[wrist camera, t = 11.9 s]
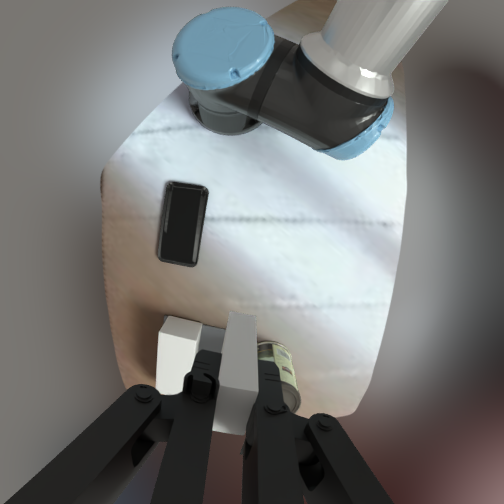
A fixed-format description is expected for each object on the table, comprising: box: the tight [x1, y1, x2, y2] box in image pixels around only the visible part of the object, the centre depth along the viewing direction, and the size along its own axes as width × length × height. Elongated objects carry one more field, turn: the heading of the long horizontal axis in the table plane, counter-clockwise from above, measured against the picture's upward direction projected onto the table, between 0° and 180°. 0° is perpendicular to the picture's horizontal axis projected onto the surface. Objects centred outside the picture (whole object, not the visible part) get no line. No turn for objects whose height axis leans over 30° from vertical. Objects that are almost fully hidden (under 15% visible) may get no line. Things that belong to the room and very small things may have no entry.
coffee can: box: [257, 342, 301, 414], centre depth 51 cm, size 10×10×14 cm
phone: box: [158, 182, 209, 267], centre depth 51 cm, size 8×1×15 cm
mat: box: [163, 315, 226, 353], centre depth 57 cm, size 16×16×1 cm
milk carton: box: [156, 316, 202, 395], centre depth 53 cm, size 7×7×19 cm
